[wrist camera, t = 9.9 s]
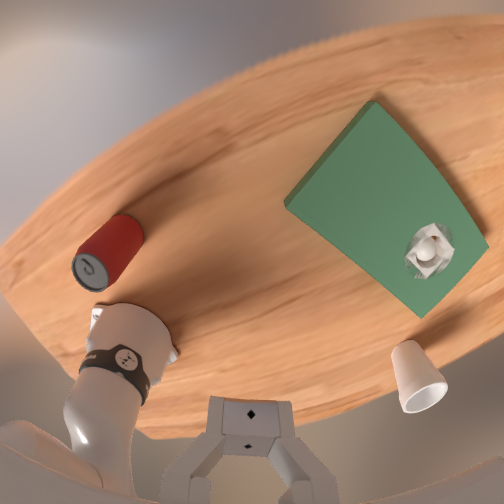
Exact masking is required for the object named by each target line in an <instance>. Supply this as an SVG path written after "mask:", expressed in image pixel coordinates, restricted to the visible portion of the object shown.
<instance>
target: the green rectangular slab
mask: <svg viewBox="0 0 504 504" xmlns="http://www.w3.org/2000/svg"><path fill="white" fill-rule="evenodd" d="M284 204H285V208H286V209H287V210H289V211H290V212H291V213H293V214H294V215H295V216H297V217H298V218H299V219H301V220H302V221H303V222H304V223H306V224H307V225H308V226H310V227H311V228H312V229H314V230H315V231H316V232H317V233H319V234H320V235H321V236H323V237H324V238H325V239H326V240H328V241H329V242H330V243H331V244H333V245H334V246H335V247H336V248H338V249H339V250H340V251H341V252H343V253H344V254H345V255H346V256H348V257H349V258H350V259H351V260H353V261H354V262H355V263H356V264H357V265H359V266H360V267H361V268H362V269H364V270H365V271H366V272H367V273H368V274H370V275H371V276H372V277H373V278H374V279H376V280H377V281H378V282H379V283H380V284H382V285H383V286H384V287H385V288H386V289H387V290H389V291H390V292H391V293H392V294H393V295H394V296H396V297H397V298H398V299H399V300H400V301H401V302H403V303H404V304H405V305H406V306H407V307H408V308H409V309H411V310H412V311H413V312H414V313H415V314H416V315H417V316H418V317H420V318H421V319H422V318H423V317H424V316H425V315H426V314H427V313H428V312H429V311H430V310H431V309H432V308H433V307H435V306H436V305H437V304H438V303H439V302H440V301H441V300H442V299H443V298H444V297H445V296H446V295H447V294H448V293H449V292H450V291H451V289H452V288H453V287H454V286H455V285H456V284H457V283H458V282H459V281H460V280H461V279H462V278H463V277H464V276H465V275H466V273H467V272H468V271H469V270H470V269H471V268H472V267H473V266H474V264H475V263H476V262H477V261H478V260H479V259H480V258H481V256H482V255H483V254H484V253H485V252H486V250H487V249H488V248H489V246H488V244H487V242H486V240H485V239H484V237H483V235H482V234H481V232H480V230H479V229H478V227H477V225H476V224H475V222H474V221H473V219H472V218H471V216H470V214H469V213H468V211H467V210H466V208H465V207H464V205H463V204H462V203H461V201H460V200H459V198H458V197H457V195H456V194H455V193H454V191H453V190H452V188H451V187H450V186H449V184H448V183H447V182H446V180H445V179H444V178H443V176H442V175H441V174H440V172H439V171H438V170H437V169H436V167H435V166H434V165H433V164H432V162H431V161H430V160H429V159H428V157H427V156H426V155H425V154H424V153H423V151H422V150H421V149H420V148H419V147H418V145H417V144H416V143H415V142H414V141H413V140H412V139H411V138H410V136H409V135H408V134H407V133H406V132H405V131H404V130H403V129H402V128H401V127H400V125H399V124H398V123H397V122H396V121H395V120H394V119H393V118H392V117H391V116H390V115H389V114H388V113H387V112H386V111H385V110H384V109H383V108H382V107H381V106H380V105H379V104H378V103H377V102H376V101H373V102H367V103H366V104H365V105H364V106H363V108H362V109H361V110H360V111H359V112H358V114H357V115H356V116H355V117H354V118H353V119H352V121H351V122H350V123H349V124H348V125H347V126H346V128H345V129H344V130H343V131H342V132H341V134H340V135H339V136H338V137H337V138H336V139H335V141H334V142H333V143H332V144H331V145H330V147H329V148H328V149H327V150H326V151H325V152H324V154H323V155H322V156H321V157H320V158H319V160H318V161H317V162H316V163H315V164H314V166H313V167H312V168H311V169H310V170H309V171H308V173H307V174H306V175H305V176H304V177H303V179H302V180H301V181H300V182H299V183H298V185H297V186H296V187H295V188H294V189H293V191H292V192H291V193H290V194H289V195H288V196H287V198H286V199H285V200H284ZM431 236H436V246H437V251H436V254H435V256H434V257H433V258H432V259H430V260H428V261H421V260H419V259H416V252H417V250H418V247H419V245H420V244H421V243H422V242H423V241H424V240H425V239H426V238H428V237H431Z"/></svg>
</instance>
